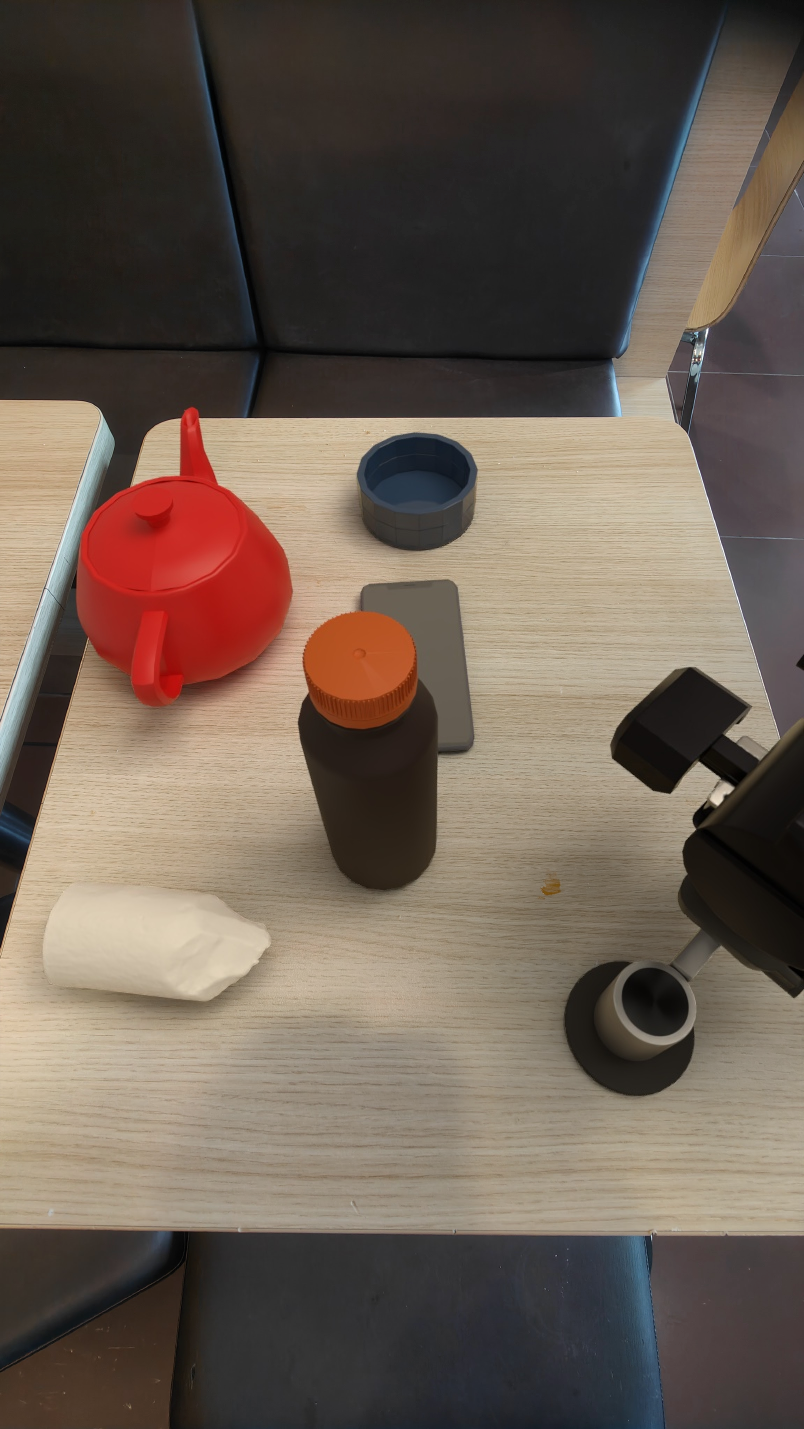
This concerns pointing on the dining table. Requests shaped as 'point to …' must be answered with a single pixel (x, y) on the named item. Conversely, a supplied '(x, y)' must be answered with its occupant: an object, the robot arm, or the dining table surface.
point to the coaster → (599, 1059)
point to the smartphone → (432, 648)
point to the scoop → (652, 1002)
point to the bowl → (417, 490)
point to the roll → (148, 941)
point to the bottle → (371, 748)
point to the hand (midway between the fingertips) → (748, 889)
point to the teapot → (180, 578)
